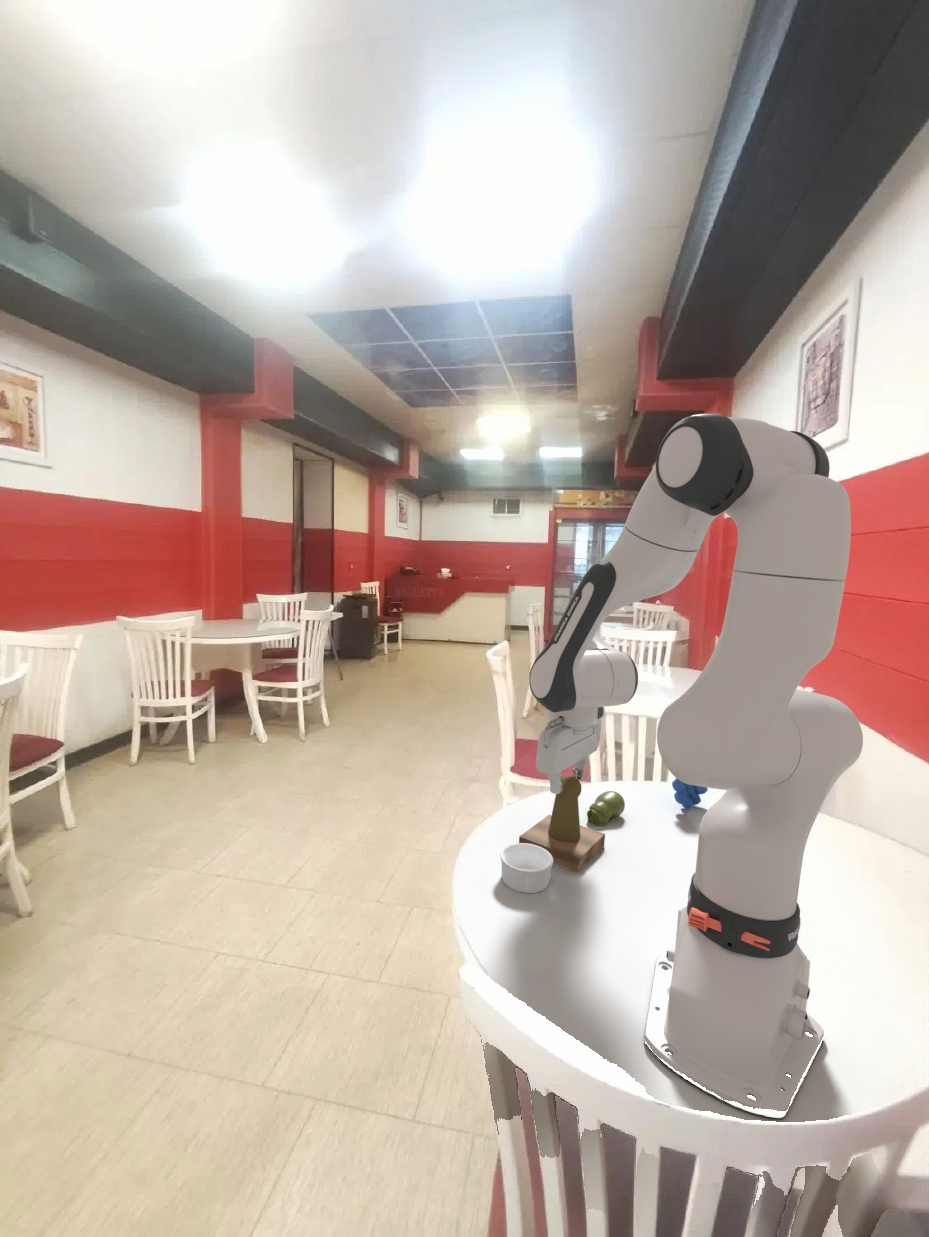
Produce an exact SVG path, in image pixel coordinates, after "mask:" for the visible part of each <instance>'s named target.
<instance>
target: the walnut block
mask: <svg viewBox="0 0 929 1237" xmlns="http://www.w3.org/2000/svg"><path fill="white" fill-rule="evenodd" d="M551 816H552V814H548V815H547V816H545V817H544V818H542V819H541V820H540V821H538V822H537V823H535V825H533V826H531V827H530V828H529V829H528V830H526V831H524V832H523V833H522V834H520V835H519V837H518V838H519V839H518V843H528V844H533V845H537V846H539V847H542V848H544V849H545V850H547V851H548V852H549V853H550V854H551V855H552V857H553V864H555V865H558V866H560V867H563V868H565V869H568V870H571V871H573V872H575V873H579V872H580V871H581V870H582V869H583V868H584V867H585V866H586V865H587V864H589V862H591V860H592V859H593V858H594V857H595V856H597V854H598V853H599V852H600V851H601V850H602V849H603V848H604V847H605V841H606V833H605V832H602V831H598V830H595V829H592V828H589V827H586V826H583V825H580V839H579V840H578V841H575V842H561V841H558V840H555V839H553V838H552V837H551V836H550V835H549V834H548V831H549V826H550V821H551Z"/></svg>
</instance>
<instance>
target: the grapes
mask: <svg viewBox="0 0 929 1237" xmlns="http://www.w3.org/2000/svg"><path fill="white" fill-rule="evenodd" d="M671 787H672V788H673V790H674V791H675V793H674V796H673V797H674V799H675V802H676V803H677V804H679V805H681V806H682V808H684V809H685V810H690V809H691V808H692V809H693V807H694V806H697V805H699V804H700V803H701V802H702V799H701V796H700V795H703V794H706V793H707V792H708V789H709V788H706V787H700V786H694V785H689V784H686V783H683V782H682V781H680V780H678V779H677V778H675V779H674V780H673V781H672V782H671Z"/></svg>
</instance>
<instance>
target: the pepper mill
mask: <svg viewBox="0 0 929 1237" xmlns="http://www.w3.org/2000/svg"><path fill="white" fill-rule="evenodd" d="M560 781H561V783H563V787H562V789H563V790H562V792H561V793H559V794H555V798H554V801H553V808H552V812H551V821H550V826H549V831H548V834H549V835H550V836H551V837H552V838H553V839H555V840H558V841H561V842H575V841H578V840H579V839H580V809H579V797H580V796H581V792H582V784H581V782H580V780H578V779H576V778H574V777H573V776H570V775H561V776H560Z"/></svg>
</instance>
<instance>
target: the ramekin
mask: <svg viewBox="0 0 929 1237" xmlns="http://www.w3.org/2000/svg"><path fill="white" fill-rule="evenodd" d="M499 857H500V860H501V879H502V881H503V883H504V884H505V885H506V886H507V887H508V888H510V889H512V890H513V891H516V892H518V893H524V894H536V893H540V892H542V891H544V890H545V889H546V888H547V887H548V886H549V884H550V879H551V872H552V868H553V865H554V863H553V857H552V855H551V854H550V853H549V852H548V851H547V850H545V849H544V848H542V847H539V846H537V845H533V844H528V843H519V842H518V843H512V844H509V845H507V846H505V847H503V849H501V851H500V854H499Z"/></svg>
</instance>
